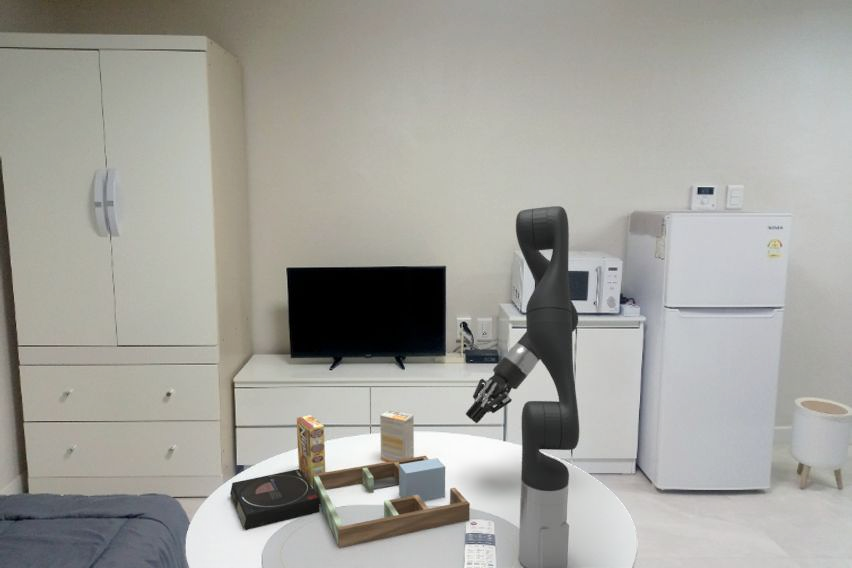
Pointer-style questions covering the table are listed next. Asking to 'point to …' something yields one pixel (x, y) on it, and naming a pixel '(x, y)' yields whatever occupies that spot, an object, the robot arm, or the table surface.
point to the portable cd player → (274, 498)
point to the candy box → (310, 447)
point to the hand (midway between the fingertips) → (471, 418)
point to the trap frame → (385, 504)
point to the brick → (422, 479)
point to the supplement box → (396, 436)
